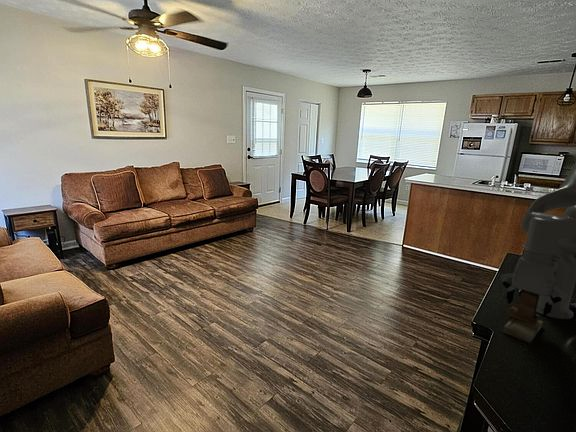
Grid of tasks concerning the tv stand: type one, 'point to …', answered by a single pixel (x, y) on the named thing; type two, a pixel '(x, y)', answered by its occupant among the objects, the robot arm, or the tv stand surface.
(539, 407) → the tv stand surface
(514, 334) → the board
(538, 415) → the tv stand surface
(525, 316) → the brown slider knob
